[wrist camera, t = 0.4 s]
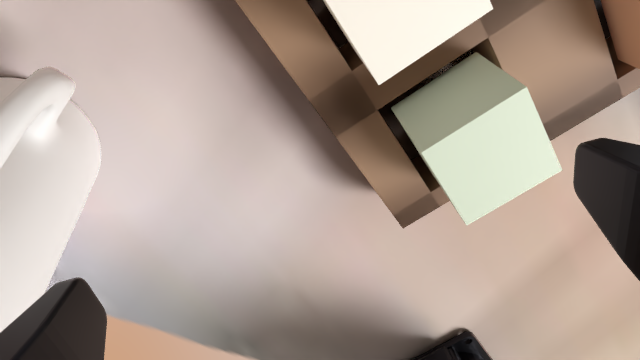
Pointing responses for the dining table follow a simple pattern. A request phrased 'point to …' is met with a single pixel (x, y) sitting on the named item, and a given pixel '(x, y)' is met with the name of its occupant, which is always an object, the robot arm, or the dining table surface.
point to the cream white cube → (401, 28)
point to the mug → (40, 182)
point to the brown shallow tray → (482, 36)
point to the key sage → (478, 136)
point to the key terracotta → (624, 28)
